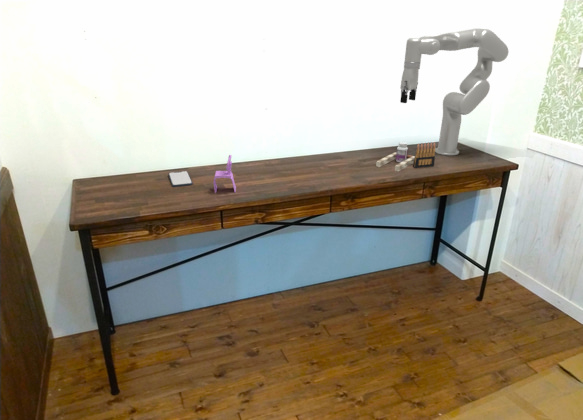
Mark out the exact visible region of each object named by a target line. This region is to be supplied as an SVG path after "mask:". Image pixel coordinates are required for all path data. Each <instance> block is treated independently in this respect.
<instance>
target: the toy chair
mask: <svg viewBox="0 0 583 420" xmlns="http://www.w3.org/2000/svg"><path fill="white" fill-rule="evenodd" d="M232 157H233V156H232V155H231V154H229V155H228V159H227V163H226V168H225V170H216V171H215V174H214V177H213V189H214V193H215V194H216V193H217V190H218V186H217V182H216V179H223V178H225V179H230V180H231V182H232V187H233V190H234V193H236V191H237V185H236V183H235V180H234V178H235V177H234V175H233V172H232Z"/></svg>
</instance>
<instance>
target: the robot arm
mask: <svg viewBox="0 0 583 420" xmlns="http://www.w3.org/2000/svg"><path fill="white" fill-rule="evenodd" d="M471 48H478V50H477V62H476V64H475V67H474V68H473V69H472V70H471V71H470V72H469V74H468V75H467V76H466V77H464V79H463V80H462V81H461V82H460V84H459V91H460V92H461V93H460V92H457V91H452V92H449V93H447V94H445V96H444V98H443V100H442V119H441V126H440V132H439V138H438V139H439V140H438V146H437V147H435V154H438V155H443V156H457V155H459V154H460V151H459V149H457V148H458V141H459V137H460V130H461V126H462V125H461V124H462V116H467V115H469V114H471V113H472V112H473V111H474V110H475V109H476V108H477V107H478V106H479V105H480V104H481V102H483V101H484V99H485V98H486V97H487V96H488V94H489V92H490V88H491V85H490V82H489V81H488V78H489V77H490V76H491V75H492V71H493V62H495V63H500V62H503V61H504V60H506V59H507V57H508V55H509V47H508V46H507V44H506V43H505V42H504V41H503V40H502V39H501V38H500V37H499V36H498V35H497V34H496V33H495V32H493V31H492V30H490V29H488V28H472V29H466V30H459V31H454V32H453V31H452V32H446V33H440V34H439V33H437V34H430V35H426V36H425V35H424V36H420V37H419V38H417V37H414V38H413V37H411V38H408V39H407V40H406V45H405V55H404V63H403V71H402V75H401V80H400V81H401V82H400V100H399V101H400V104H401V103H402V104H407V103H408V100H409V101H410V100H411V101H416V97H417V95H416V94H417V89H418V85H419V70H420V68H421V62H422V61H421V59H422V55H429V56H433V55H435V54H437V53H438V52H439V51H447V52H451V51H454V52H455V51H460V50H465V49H471ZM408 93H409V95H408Z"/></svg>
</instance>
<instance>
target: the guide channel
mask: <svg viewBox="0 0 583 420" xmlns="http://www.w3.org/2000/svg"><path fill="white" fill-rule="evenodd" d="M396 153H397V151H395V152H392V153H390V154H389V155H386V156H385V157H382V158H381V159H379V160H377V161H376V164H375V165H376V166H375V167H378V168H381V167H383V166H385V165H386V164H389V163H390V162H392V161H395V160H396ZM414 158H415V155H411V154H410V155H409V154H407V160H405V161H403V162H401V163H399V162H398V164H395V166H394V171H395V172H400V171H402V170H404V169H406V168H408V167H410V166H411V165H413V164H414Z"/></svg>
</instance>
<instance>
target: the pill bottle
mask: <svg viewBox="0 0 583 420" xmlns="http://www.w3.org/2000/svg"><path fill="white" fill-rule="evenodd" d="M408 152H409V147H408V142H406V141H400V142H399V143H398V146H397V148H396V159H395V161H396V162H397V163H398V164H399V163H401V162H403V161H405V160H407V155H408Z"/></svg>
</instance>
